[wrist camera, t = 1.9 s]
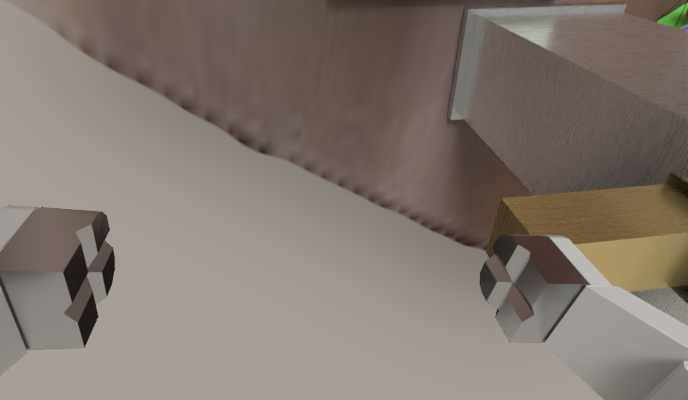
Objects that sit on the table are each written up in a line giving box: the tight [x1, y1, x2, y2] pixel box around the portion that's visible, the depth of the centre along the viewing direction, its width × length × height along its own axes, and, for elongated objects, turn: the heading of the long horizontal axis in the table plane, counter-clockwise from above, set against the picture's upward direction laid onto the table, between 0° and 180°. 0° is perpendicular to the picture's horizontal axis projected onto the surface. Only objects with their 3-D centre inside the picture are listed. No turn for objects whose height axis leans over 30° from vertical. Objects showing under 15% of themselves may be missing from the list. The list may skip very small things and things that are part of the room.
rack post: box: [447, 3, 688, 326], centre depth 29 cm, size 16×11×31 cm
